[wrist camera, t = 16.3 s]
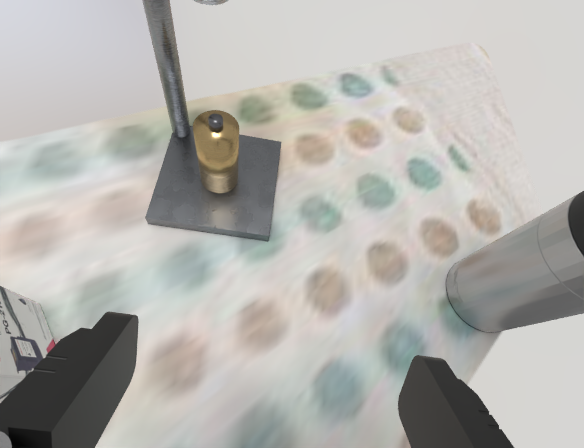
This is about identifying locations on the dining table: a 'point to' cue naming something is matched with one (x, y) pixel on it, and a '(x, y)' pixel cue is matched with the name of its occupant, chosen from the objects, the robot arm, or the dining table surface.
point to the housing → (217, 150)
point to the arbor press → (184, 163)
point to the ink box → (20, 339)
